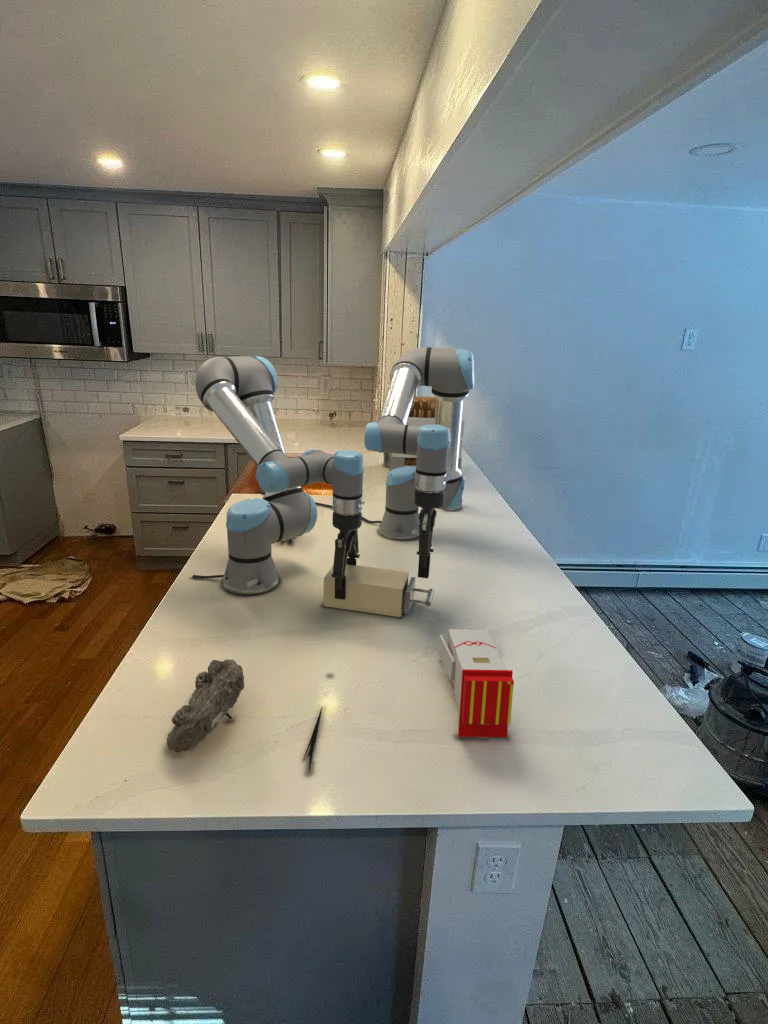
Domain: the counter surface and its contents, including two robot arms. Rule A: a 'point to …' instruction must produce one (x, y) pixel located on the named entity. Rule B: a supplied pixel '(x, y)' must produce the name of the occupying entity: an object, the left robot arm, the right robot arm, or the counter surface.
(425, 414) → the transformer
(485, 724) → the toy
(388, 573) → the cabinet
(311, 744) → the feather
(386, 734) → the counter surface
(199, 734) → the fossil
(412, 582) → the drawer
